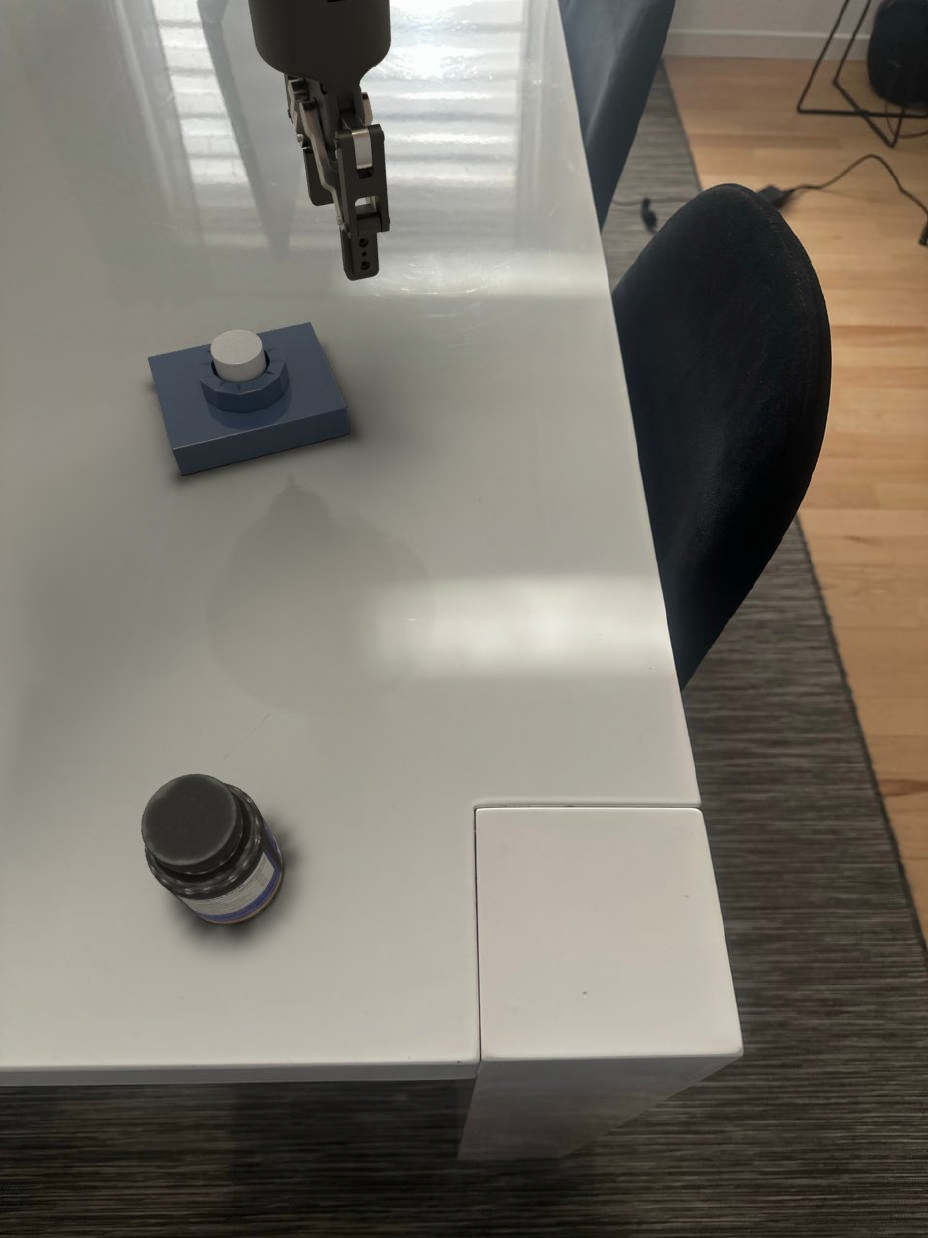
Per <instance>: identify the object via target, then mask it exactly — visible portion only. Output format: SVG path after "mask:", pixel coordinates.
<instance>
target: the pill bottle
mask: <svg viewBox="0 0 928 1238" xmlns="http://www.w3.org/2000/svg"><path fill="white" fill-rule="evenodd" d="M140 827H141V828H140V833H141V837H142V840H143V844H144V853H145V855H144V856H145V860H146V862H147V863H146V864H147V866H148V868H149V871H150V873H151V874H152V875H153V877H154V878H155V879H156V881H157V882H158V883H159V884H160V885H161V886H162V887H163V888H164V889H166V890H167V891H168V892H169V893H170V894H172V895H173V896H174V897H175V898H176V899H177V900H179V902H181V903H182V904H183V905H184V906H185V907H187V909H189V910H190V911H191V912H192V913H194V914H195V915H196V916H197V917H198V918H200V919H201V920H203V921H206V922H208V923H211V924H214V925H221V926H225V925H226V926H227V925H228V926H230V925H238V924H241V923H244V922H247V921H250V920H252V919H254V918H256V917H257V916H258V915H259V914H261V913H262V912H263V911H264V910H265V909H266V908H268V907H269V906H270V905H271V903H272V902H273V901H274V900H275V898H276V896H277V894H278V891H279V889H280V887H281V885H282V878H283V876H284V857H283V854H282V850H281V847H280V846H279V843H278V842H277V840H276V838H275V836H274V835H273V832H272V830H271V829H270V828H269V827H270V826H268V823H267V822H266V819H264V817H263V815H262V813H261V811H260V809H259V808H258V806H257V804H256V802H255V801H254V800H253V799H252V797H251V796H250V795H249V794H248V793H247V792H245V791H244V790H242V789H241V788H240V787H237V786H235V785H233V784H231V783H227V782H223V781H222V780H220V779H219V778H217V777H214V776H212V775H208V774H203V773H189V774H184V775H181V776H178V777H177V776H176V777H175V778H173V779H171V780H169V781H168V782H166V783H164V784H163V785H162V786H160V787H159V788H158V789H157V790H156V791H155V792H154V793H153V794H152V795H151V797H150V798H149V800H148V802H147V803H146V805H145V808H144V810H143V814H142V815H141V823H140Z"/></svg>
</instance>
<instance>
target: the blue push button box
mask: <svg viewBox="0 0 928 1238" xmlns="http://www.w3.org/2000/svg"><path fill="white" fill-rule="evenodd" d="M255 334H256V335H257V336H258V337H259V338H260V339H261V341H262V345H263V349H264V354H265V359H266V363H267V366H266V370H265V372H264V373H263V374H262V375H261V376H260V377H258V378H257V379H255V380H252V381H248V382H243V383H232V382H226V381H224V380H222V379H221V378H220V377H219V376H218V374H217V372H216V368H215V365H214V361H213V358H212V354H211V349H210V348H211V344H212V342H211V343H207V344H203V345H198V346H193V347H187V348H183V349H179V350H175V351H170V352H165V353H161V354H156V355H152V356H148V357H147V362H148V365H149V366H148V367H149V370H150V374H151V377H152V381H153V385H154V389H155V392H156V395H157V399H158V403H159V407H160V411H161V415H162V419H163V422H164V426H165V430H166V433H167V438H168V441H169V445H170V450H171V452H172V454H173V458H174V460H175V462H176V465H177V467H178V470H179V473H180V475H181V476H187V475H189V474H190V475H191V474H193V473H198V472H201V471H205V470H210V469H214V468H217V467H221V466H226V465H230V464H233V463H238V462H242V461H246V460H249V459H254V458H259V457H262V456H265V455H271V454H274V453H278V452H282V451H285V450H290V449H294V448H298V447H302V446H306V445H309V444H315V443H319V442H321V441H325V440H326V441H327V440H330V439H334V438H337V437H342V436H346V435H350V423H349V414H348V407H347V405H346V402H345V400H344V397H343V395H342V392H341V390H340V388H339V386H338V383H337V381H336V379H335V376H334V374H333V372H332V369H331V366H330V365H329V362H328V360H327V358H326V355H325V352H324V350H323V348H322V345H321V343H320V341H319V339H318V336H317V334H316V331H315V329H314V327H313V324H312V322H311V321H307V322H303V323H299V324H293V325H289V326H285V327H280V328H275V329H272V330H266V331H262V332H257V333H255Z"/></svg>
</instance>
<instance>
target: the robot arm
mask: <svg viewBox="0 0 928 1238" xmlns="http://www.w3.org/2000/svg"><path fill="white" fill-rule="evenodd" d="M247 3H248V9H249V15H250V22H251V29H252V33H253V40H254V46H255V48H256V51H257V53H258V55H259V57H261V59H262V60H263V61H264V62H265V64H267V65H268V66H269V67H271V68H272V69H274V70H275V71H277V72H279V73H281V74H283V78H284V87H285V93H286V101H287V108H288V109H287V116H288V118H289V119H290V121H291V123H292V125H293V127H294V131H295V139H296V142H297V143H298V145H299V146H300V147H299V148H300V149H302V156H303V157H302V158H303V164H304V171H305V178H306V186H307V187H306V188H307V194H308V198H309V200H310V202H311V204H312V205H313V206H315V207H322V206H328V205H332V204H333V205H334V209H335V213H336V217H335V219H336V223H337V226H338V229H339V237H340V248H341V257H342V258H341V259H342V265H343V266H342V267H343V272H344V274H345V276H346V278H347V279H348V280H349V281H351V282H355V281H360V280H365V279H370V278H374V277H376V276H377V275H378V274H379V272H380V259H379V244H378V243H379V242H378V234H379V233H381V234H382V233H387V232H390V230H391V226H390V225H391V217H390V210H389V209H390V208H389V193H388V192H389V191H388V179H387V165H386V163H387V162H386V147H385V140H386V136H385V132H384V130H383V128H382V125H381V124H380V123H373V120H374V115H373V110H372V105H371V101H370V97H369V94H368V92H367V91H362V88H361V81H362V80H363V78H364V76H365V75H366V74H367V73H368V72H370V71H371V70H372V69H374V68H376V67H377V66H378V65H380V64H381V63H382V62H383V61H384V60H385V58H386V57H387V56H388V53H389V52H390V49H391V44H392V29H391V28H392V27H391V26H392V25H391V2H390V0H247ZM372 123H373V124H372ZM361 199H365V203H363V204H358V205H356V202H357V201H358V200H361Z"/></svg>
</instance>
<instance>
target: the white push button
mask: <svg viewBox="0 0 928 1238" xmlns="http://www.w3.org/2000/svg"><path fill="white" fill-rule="evenodd" d="M256 334H257V333H255V332H253V331H250V330H246V329H232V330H228V331H227V330H226V331H224V332H222V333H220V334H219V335H217V336H216V337H215V338H214V339H213V340H212V342H211V343H212V344H211V343H210V344H211V348H210V349H211V354H212V358H213V361H214V365H215V368H216V372H217V374H218V376H219V377H220V378H221V379H222V380H224V381H226V382H232V383H243V382H248V381H252V380H255V379H257V378H258V377H260V376H261V375H262V374H263V373H264V372H265V370H266V366H267V363H266V359H265V354H264V349H263V345H262V341H261V339H260V338H259V337H258V336H257V335H256Z"/></svg>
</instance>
